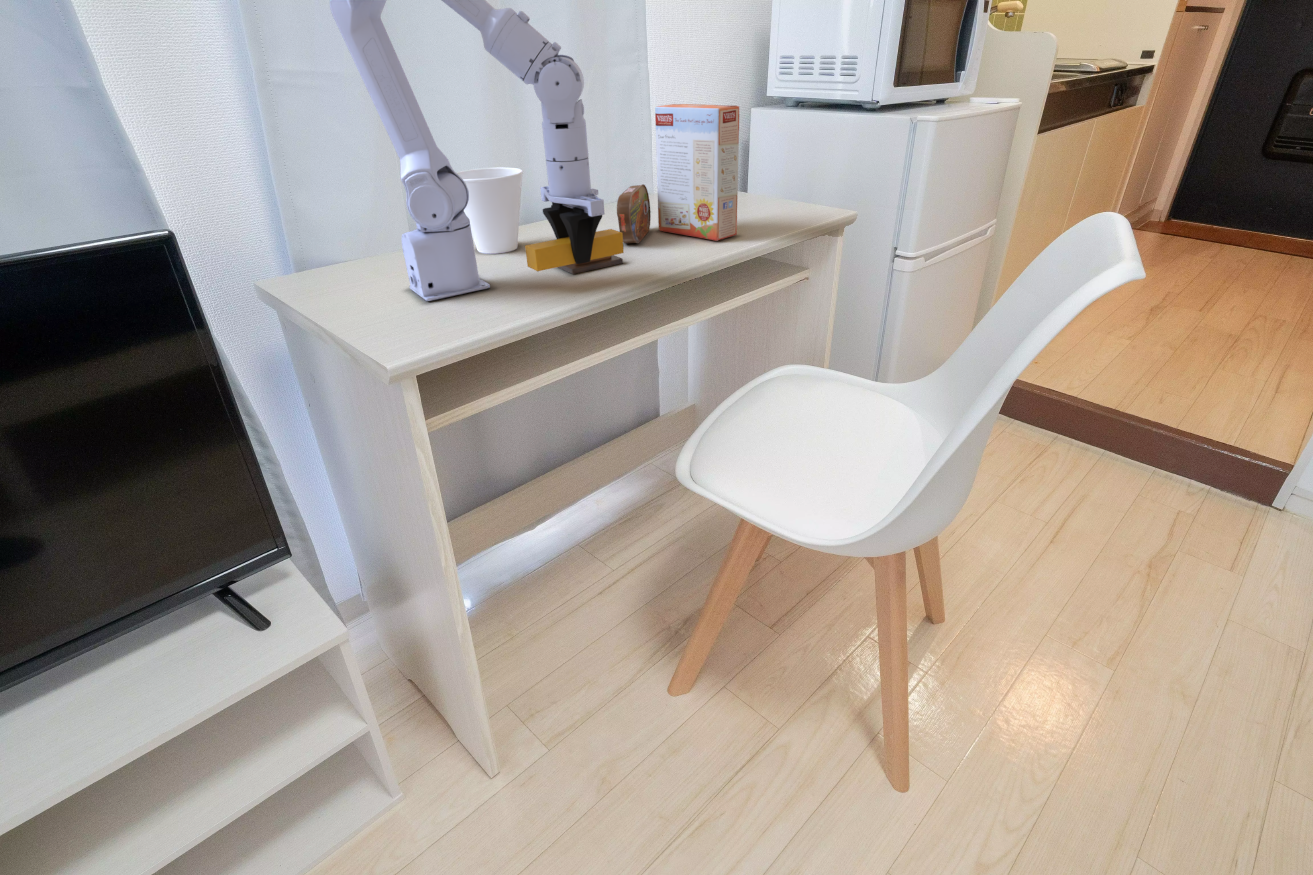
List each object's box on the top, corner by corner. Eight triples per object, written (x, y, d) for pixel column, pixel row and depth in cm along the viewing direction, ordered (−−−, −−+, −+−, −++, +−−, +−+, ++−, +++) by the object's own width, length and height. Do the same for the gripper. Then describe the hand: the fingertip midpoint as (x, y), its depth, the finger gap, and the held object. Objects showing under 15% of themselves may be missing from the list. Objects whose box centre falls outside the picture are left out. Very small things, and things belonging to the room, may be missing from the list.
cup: (483, 238, 127) (472, 166, 121) (543, 241, 124) (534, 167, 118) (449, 256, 117) (435, 178, 111) (513, 259, 114) (502, 179, 108)
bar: (537, 271, 95) (534, 249, 94) (527, 266, 97) (524, 245, 96) (623, 253, 102) (622, 232, 100) (612, 249, 104) (611, 228, 103)
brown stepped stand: (572, 274, 105) (570, 253, 104) (545, 262, 112) (543, 242, 110) (622, 263, 110) (621, 243, 108) (594, 252, 116) (592, 232, 114)
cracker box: (738, 235, 122) (741, 104, 112) (716, 242, 119) (718, 107, 108) (679, 225, 131) (677, 102, 121) (657, 231, 127) (653, 105, 117)
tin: (634, 249, 117) (631, 197, 113) (616, 248, 118) (613, 197, 113) (652, 228, 130) (650, 180, 126) (636, 227, 130) (634, 180, 126)
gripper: (621, 160, 89) (627, 265, 96) (567, 150, 100) (576, 245, 107) (573, 167, 86) (582, 275, 93) (523, 156, 97) (535, 253, 103)
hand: (576, 260), depth 100 cm, fingers closed on bar, 3 cm apart
